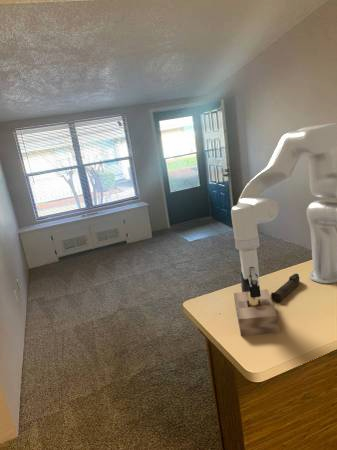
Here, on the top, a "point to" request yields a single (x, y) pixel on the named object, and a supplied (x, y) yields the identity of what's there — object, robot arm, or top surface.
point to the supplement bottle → (244, 283)
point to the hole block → (256, 314)
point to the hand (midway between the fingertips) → (253, 289)
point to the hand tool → (285, 288)
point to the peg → (253, 301)
